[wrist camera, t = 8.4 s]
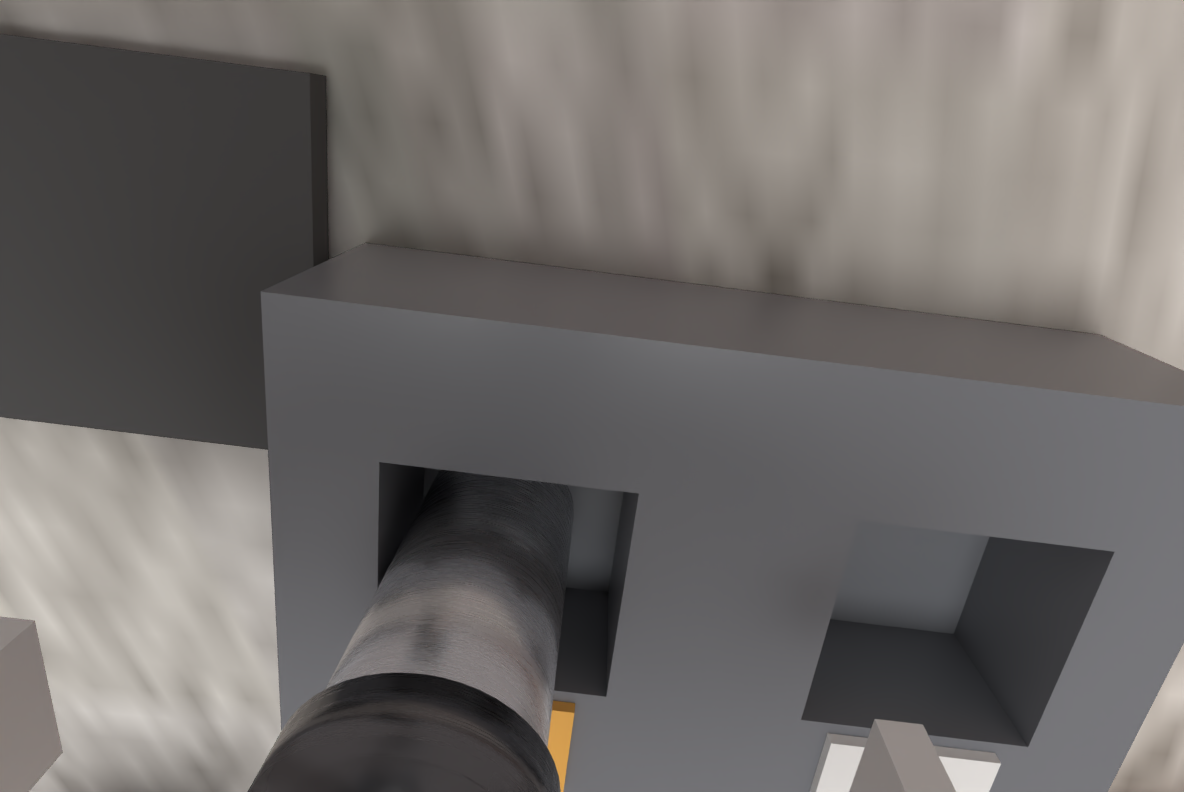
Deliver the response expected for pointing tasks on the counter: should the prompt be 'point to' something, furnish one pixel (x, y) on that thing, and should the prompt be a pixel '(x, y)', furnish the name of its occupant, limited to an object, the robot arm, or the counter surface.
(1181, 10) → the counter surface
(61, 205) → the plate
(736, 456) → the socket block
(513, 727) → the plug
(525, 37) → the counter surface
